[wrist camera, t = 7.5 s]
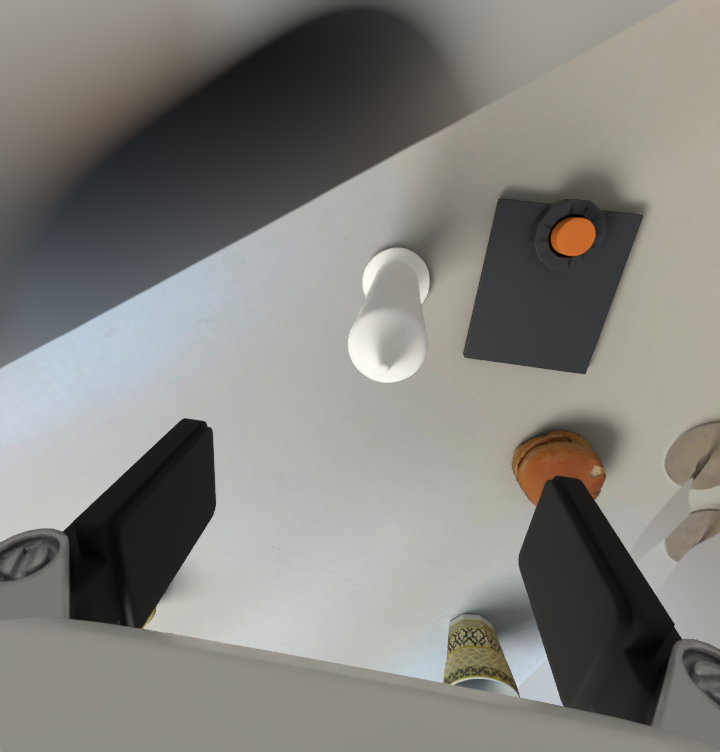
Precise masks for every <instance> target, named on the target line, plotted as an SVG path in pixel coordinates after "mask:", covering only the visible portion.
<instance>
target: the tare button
mask: <svg viewBox="0 0 720 752" xmlns="http://www.w3.org/2000/svg"><path fill="white" fill-rule="evenodd" d="M595 235H596V231H595V227H594V225H593V224H592V222H591V221H589V220H588V219H585V218H576V217H570V218H566V219H564V220H562V221H560V222H559V223H558V224H557V225H556V226H555V228H554V229H553V231H552V234H551V244H552V246H553V248H554V249H555V250H556V251H557V252H558V253H561V254H564V255H568V256H578V255H581V254H583V253H584V252H586V251H587V250H588V249H589V248H590V247H591V246H592V244H593V242H594V240H595Z"/></svg>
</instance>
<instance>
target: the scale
mask: <svg viewBox="0 0 720 752" xmlns="http://www.w3.org/2000/svg"><path fill="white" fill-rule="evenodd" d="M570 217H576V218H585V219H588V220H589V221H591V222H592V224H593V225H594V227H595V231H596V235H595V240H594V242H593V244H592V246H591V247H590V248H589V249H588V250H587V251H586V252H584V253H583V254H581V255H578V256H568V255H564V254H561V253H558V252H557V251H556V250H555V249H554V248H553V246H552V244H551V234H552V231H553V229H554V228H555V226H556V225H557V224H558V223H559V222H560V221H562V220H564V219H566V218H570ZM642 218H643V215H638V214H630V213H621V212H613V211H604V210H600V209H599V208H598V207H597V206H596V205H595V204H594V203H592V202H591V201H587V200H578V199H564V200H562V201H559V202H557V203H555V204H544V203H536V202H527V201H518V200H510V199H498V202H497V207H496V211H495V216H494V220H493V224H492V229H491V233H490V238H489V242H488V246H487V251H486V255H485V260H484V264H483V268H482V273H481V277H480V282H479V286H478V291H477V295H476V299H475V304H474V308H473V313H472V317H471V321H470V326H469V330H468V335H467V339H466V343H465V348H464V352H463V355H464V357H465V358H472V359H479V360H486V361H493V362H500V363H508V364H515V365H522V366H529V367H536V368H544V369H551V370H558V371H565V372H572V373H580V374H586V371H587V368H588V366H589V363H590V360H591V357H592V355H593V352H594V349H595V346H596V344H597V341H598V338H599V335H600V333H601V330H602V327H603V324H604V322H605V319H606V316H607V314H608V311H609V308H610V305H611V303H612V300H613V297H614V294H615V292H616V289H617V286H618V283H619V281H620V278H621V275H622V273H623V270H624V267H625V264H626V262H627V259H628V256H629V253H630V251H631V248H632V245H633V242H634V240H635V237H636V234H637V231H638V229H639V226H640V223H641V221H642Z"/></svg>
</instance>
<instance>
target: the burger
mask: <svg viewBox="0 0 720 752" xmlns="http://www.w3.org/2000/svg"><path fill="white" fill-rule="evenodd" d="M512 469H513V472H514V475H515V477H516V480H517V482H518V483H519V485H520V487H521V489H522V490H523V491H524V493H525V494H526V496H527V497H528V499H529V500H530V501H531V502H532V503H533V504H534V505H536V506H537V504H538V501H539V498H540V496H541V493H542V490H543V487H544V485H545V483H546V481H547V480H552V479H553V478H554V477H555V476H557V475H558V476H565V477H571V478H578V479H580V480H581V481H582V482H583V483H584V485H585V486H586V488H587V489H588V491H589V493H590V494H591V496H592V497H593V499H594V500H595V499H596V498H597V497H598V496H599V493H600V491H601V490H600V489H601V488H602V486H603V483H604V481H605V478H606V475H605V472H604V468H603V466H602V464H601V461H600V458H599V457H598V455H597V454H596V453H595V452H594V451H593V450H592V447H591V445H590V444H589V442H587V440H585V439H584V438H582V437H581V436H580V435H576V434H574V433H573V432H568V431H555V432H551V433H549V434H548V435H547V436H545V435H544V436H540V437H535V438H533V439H531V440H529V441H527V442H526V443H524V444H523V445H520V446H519V447H518V448H517V449H516V451H515V454H514V456H513V461H512Z"/></svg>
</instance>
